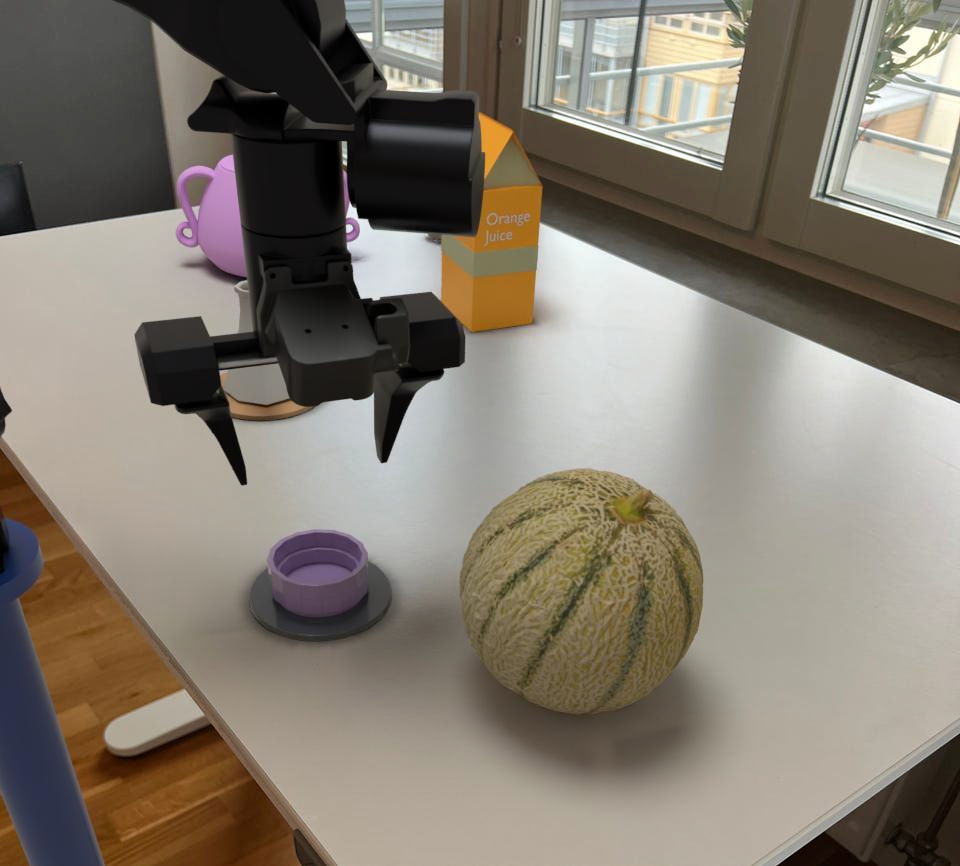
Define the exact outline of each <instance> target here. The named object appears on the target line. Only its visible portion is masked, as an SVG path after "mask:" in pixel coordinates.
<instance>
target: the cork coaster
mask: <svg viewBox="0 0 960 866" xmlns="http://www.w3.org/2000/svg"><path fill="white" fill-rule="evenodd" d="M227 373H228V371H227V372H224V373H222V374H220V379H221V385H222V387H223V388H224V384H225V380H226V377H227ZM223 390H224V389H223ZM224 392H225V394H226V397H227V399H228V402H229V405H230V411H231V416H232V418H233V419H239V420H248V421H274V420H275V421H276V420H282V419H288V418H292V417H295V416H298V415H299V416H300V415H302V414H304V413H306V412H308V411H310V410H312V409H313V408H314V407H316V406H313V407H304V406H300V405H297V404H295V403H294V402H293V401H292V400H291V399H290V398H289V399H285V400H282V401H279V402H275V403H272V404H268V405H264V404H257V403H251V402H244V401H238V400H237V399H235V398H234V397H233V396H231V395H230V394H229V393H227V392H226V391H225V390H224Z"/></svg>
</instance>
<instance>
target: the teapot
mask: <svg viewBox="0 0 960 866" xmlns="http://www.w3.org/2000/svg"><path fill="white" fill-rule="evenodd" d="M343 175H344V195H345V215H346V226H348V225H350V226H352V230H351V231H349V232H346V234H347V243H352V242H353V241H356V240H357V239H358V238H359V236H360V232H361V227H360V224H359V222H358V220H357V219H356V218H354V217H347V216H348V211H349V208H350V204H351V203H350V200H349V195H348V188H347V171H345V170H344V169H343ZM197 177H198V178H199V177H200V178H201V177H202V178H207V179H209V180H208V183H207V184H206V187H205V189H204V192H203V195H202V197H201V200H200V204H199V208H198V213H197V217H196V214H195V211H194V210H193V207H192V205H191V202H190V200H189V196H188V192H187V183H188V182H189V181H190V180H191V179H193V178H197ZM176 194H177V198H178V202H179V204H180V207H181V210H182V211H183V214H184V217H185V218H186V221H181V222H179V223H178V224H177V226H176V228H175V238H176V239H177V241H178V243H179V244H180V245H182V246H184V247H186V248H191V249H192V248H196V247H198V246H199V248H200V250H201V251H202V253H203V254H204V255H205V256H206V257H207V259H209V260H210V261H211V262H212V263H213V264H214V265H215V266H216V267H217V268H218V269H220V270H222V271H223V272H225V273H228V274H231V275H235V276H238V277H242V278H247V274H246V265H245V257H244V248H243V239H242V230H241V221H240V213H239V204H238V195H237V186H236V178H235V169H234V160H233V153H232V154H229V155H227V156H224V157H223V158H221V159H220V160H219V161H218V163H217V165H216V166H215V168H214V169H213V168H211V167H208V166H203V165H195V166H191V167H188V168H187V169H185V170H184V171H182V172H181V173H180V175H179V176H178V178H177V181H176ZM185 229H188V230H190V231H191V237H189V236H187V235H185V234H184V230H185Z"/></svg>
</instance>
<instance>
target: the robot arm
mask: <svg viewBox="0 0 960 866" xmlns="http://www.w3.org/2000/svg"><path fill="white" fill-rule="evenodd" d="M112 1H113V2H115V3H118V4H120V5H122V6H125V7H127V8H129V9H131V10H132V11H134V12H135V13H137V14H139V15H141V16H142V17H144V18H145V19H147V20H148V21H150V22H152V23H153V24H154V25H156V26H157V27H158V28H159V29H160V31H162V32H163V33H164V34H165V35H167V36H168V38H169V39H171V40H172V41H173V42H174V43H175V44H176V45H177V46H178V47H179V48H181V49H182V50H183V51H184V52H186V53H187V54H189V55H191V56H192V57H194V58H195V59H197V60H198V61H200V62H202V63H204V64H205V65H207V66H208V67H210V68H212V69H213V70H215V71H217V72H218V73H220V74H221V75H220V76H218V77H216V78H215V79H214V80H213V81H212V82H211V86H210V89H209V91H208V92H207V95H206V96H205V98H204V99H203V101H202V102H201V103H200V104H199V106H198V107H196V108H195V110H194V111H193V112H192V113H191V114H189V115H188V117H187V119H186V123H187V126H188V128H189V130H192V131H193V132H199V133H214V134H227V135H228V134H229V135H230V142H231V150H232V154H233V160H234V169H235V178H236V186H237V195H238V204H239V213H240V221H241V230H242V239H243V248H244V257H245V265H246V274H247V277H246V280H247V283H248V292H249V300H250V309H251V318H252V327H253V332H245V333H238V332H237V333H228V334H219V335H213V336H212V335H210V333H209V331H208V329H207V326H206V324H205V322H204V320H203V317H202V315H200V316H190V317H189V316H188V317H179V318H172V319H171V318H170V319H161V320H153V321H142V322H141V323H140V325H139V326H138V328H137V330H136V331H135V333H134V335H133V336H134V342H135V346H136V352H137V358H138V363H139V367H140V371H141V375H142V377H143V381H144V384H145V387H146V391H147V394H148V399H149V401H150V404H153V405H157V406H160V407H166V406H174V409H175V410H176V412H177V413H179V414H182V415H193V414H195V415H197V416H198V417H199V418H200V419H201V420H202V421H203V422H204V424H205V425H206V426H207V428H208V429H209V431H210V432H211V433H212V434H213V436H214V438H215V439H216V441H217V442H218V444H219V446H220V448H221V450H222V452H223V454H224V456H225V457H226V459H227V461H228V463H229V465H230V467H231V469H232V471H233V473H234V475H235V477H236V479H237V481H238V482H239V484H240V486H241V487H242V486H243V487H244V486H248V476H247V467H246V462H245V459H244V456H243V452H242V449H241V446H240V441H239V438H238V435H237V431H236V427H235V424H234V421H233V417H232V416H231V411H230V405H229V402H228V399H227V397H226V394H225V392H224V390H223V387H222V385H221V379H220V376H221V373H220V372H222V371H228V370H229V369H238V368H246V367H254V366H262V365H270V364H278V363H279V366H280V369H281V372H282V375H283V378H284V381H285V384H286V388H287V393H288V395H289V398H290V399H291V400H292V401H293V402H294V403H295V404H297V405H300V406H304V407H313V406H315V407H318V406H321V404H323V403H329V402H335V401H344V400H353V401H362V400H366V399H369V398H370V397H372V395H373V435H374V443H375V444H374V445H375V451H376V457H377V460H378V461H379V463H380V464H387V463H388V461H389V459H390V456H391V453H392V450H393V447H394V445H395V443H396V440H397V438H398V434H399V432H400V429H401V427H402V425H403V421H404V419H405V416H406V413H407V411H408V409H409V407H410V405H411V403H412V401H413V400H414V397H415V396H416V394H417V393H418V391H420V390H421V389H423V388H424V387H425V386H426V385H428V384H429V383H431V382H435V381H440V380H441V379H443V377H444V374H445V370H446V369H453V368H461V366H462V365H463V364H465V363H466V333H465V329H464V325H463V324H462V323H461V322H460V321H459V320H458V319H457V318H456V317H455V316H454V314H453V313H452V312H451V311H450V310H449V309H448V308H447V307H446V306H445V305H444V304H443V303H442V302H441V299H440V298H439V297H437V296H436V295H435V293H433V292H432V291H424V292H423V291H422V292H415V293H404V294H396V295H386V296H380V297H379V298H378V299H373V297H365V298H361V294H360V293H359V290H358V287H357V285H356V282H355V279H354V266H353V264H352V252H350V251H349V249H348V242H347V234H346V233H347V225H346V218H347V216H346V215H345V195H344V175H343V170H344V155H343V142H346V173H347V188H348V195H349V200H350V203H349V204H350V205H351V207H352V208H353V209H355V210H356V215H357V219H359V220H367V222H368V225H369V227H370V228H371V230H374V231H385V232H386V231H387V232H399V233H400V232H401V233H413V234H427V235H428V234H438V235H451V236H464V237H476V235H477V233H478V229H479V224H480V218H481V210H482V201H483V190H484V175H485V152H482V139H481V125H480V120H479V112H480V95H479V94H478V92H477V91H475V90H463V89H462V90H461V89H453V90H447V91H443V92H427V91H426V92H425V91H423V92H422V91H409V90H393V89H388V82H387V79H386V78H385V76H384V74H383V73H382V71H381V70H380V68H379V67H378V65H377V63H375V61H374V59H373V58H372V56H371V55H370V53H369V52H368V50H367V48H366V47H365V45H364V44H363V43H362V41H361V39H360V38H359V36H358V34H357V33H356V31H355V30H354V29H353V27H352V26H351V24H350V23H349V21H348V20H347V18H346V17H347V8H346V7H347V6H346V2H345V0H112ZM1 388H2V387H0V439H1V438H2V436H3V435H4V434H5V432H6V418H7V417H8V416H9V415H10V414H11V413H12V412H13V409H12V408H11V406H10V404H9V403H8V401H7V400H6V398H5V395H4V393H3V391H2V389H1ZM313 408H314V407H313ZM4 518H5V516H4V513H3V510H2V506H0V574H2V573H4V572H5V553H8V551H9V550H10V547H9V532H8V529H7V526H6V522H5V519H4Z"/></svg>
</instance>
